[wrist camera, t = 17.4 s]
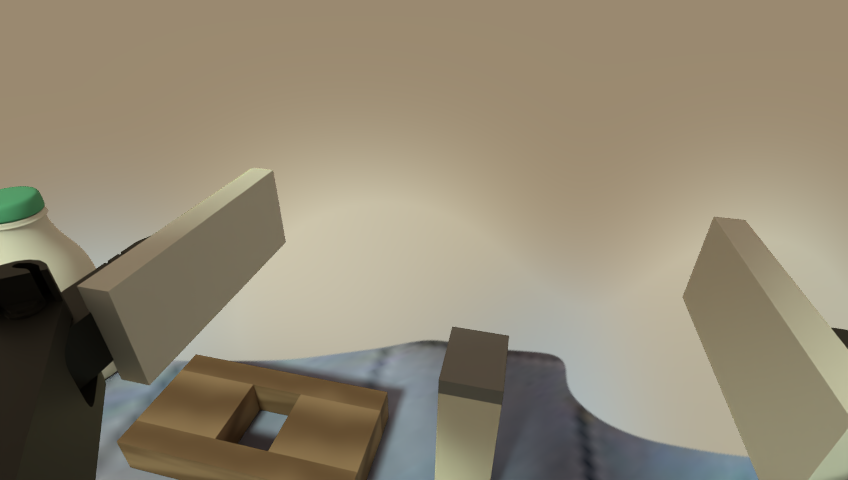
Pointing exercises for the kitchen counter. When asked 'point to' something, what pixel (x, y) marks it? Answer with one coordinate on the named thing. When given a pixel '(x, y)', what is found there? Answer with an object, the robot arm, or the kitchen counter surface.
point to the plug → (469, 404)
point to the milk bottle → (40, 240)
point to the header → (233, 413)
